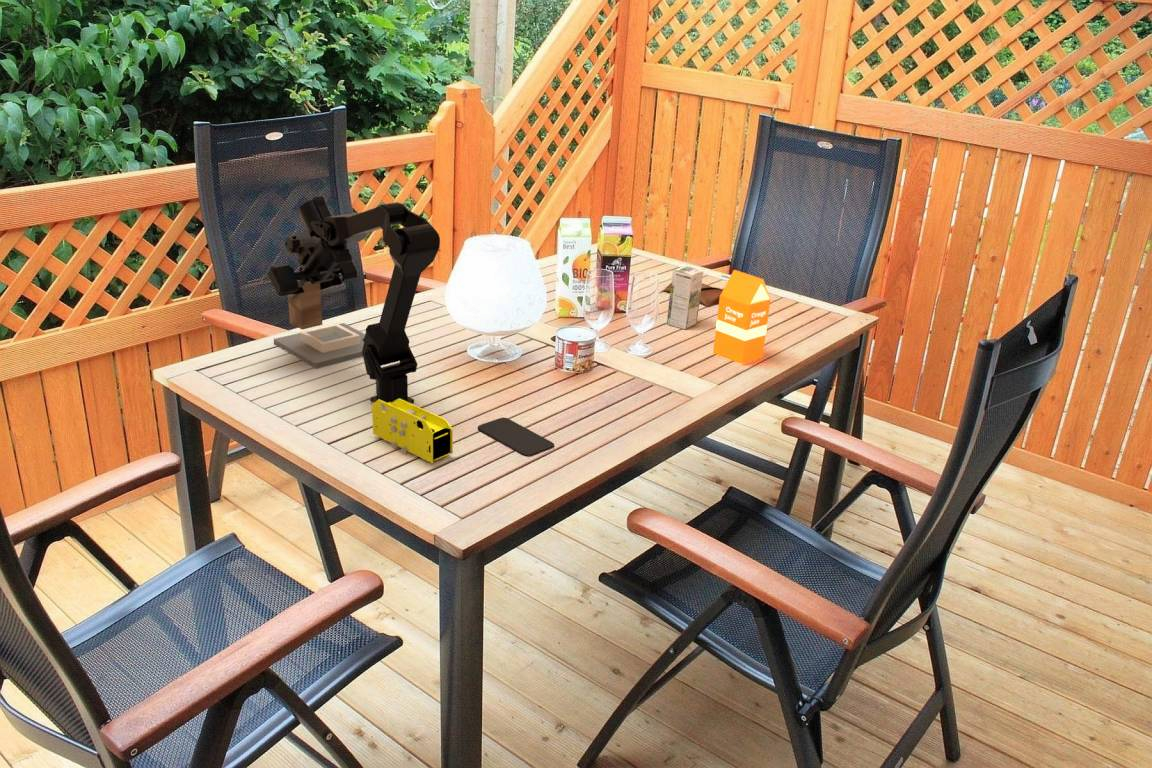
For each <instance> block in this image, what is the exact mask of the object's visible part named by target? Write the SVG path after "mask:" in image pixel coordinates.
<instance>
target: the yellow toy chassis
mask: <svg viewBox="0 0 1152 768" xmlns="http://www.w3.org/2000/svg"><path fill="white" fill-rule="evenodd" d="M371 412H372V413H371V414H372V417H371V418H372V434H373V435H375V436H377V437H379V438H381V439H382V440H384V441H385V442H387V443H391V447H392V448H393V449H396V448H398V447H399V448H400V450H401V451H400V452H401V453H403V454H406V453H407V452H409V453H410V454H413V455H414V456H417V457H419V458H420V459H421V460H423V461H427V462H429V463H431V464H433V463H434V462H438V461H439V460H442V459H444V458H446V457H447V456H449V455H454V452H453V451H454V449H453V448H454V446H453V445H454V441H453V440H454V439H453V435H454V429H453V427H452V426H451V425H450V424H449V422H448V420H447V419H446V418H444V417H442V416H439V415H437V414H435V413H433V412H430V411H428V410H426V409H423V408H422V407H419V406H417V405H415V404H414V403H412V404H411V403H409V402H406V401H404V400H402V399H400V398H399V399H397V400H395V401H394V402H392V403H391V402H389V403H386V402H384V401H382V400H380V399H379V400H377V401H376V402H372V404H371Z"/></svg>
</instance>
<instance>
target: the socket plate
mask: <svg viewBox="0 0 1152 768" xmlns="http://www.w3.org/2000/svg"><path fill="white" fill-rule="evenodd" d="M364 337H365V333H364V332H362V331H360V330H358V329H356V328H354V327H352V326H350V325H348V324H346V323H344V322H342V323H339V324H338V323H334V324H330V325H325V326H320V327H317V328H311V329H306V330H303V331H300V332H298V333H294V334H290V335H289V334H288V335H285V336H280V337H276V338H273V344H274V345H275V346H277V347H278V346H279V347H278V348H280V347H281V348H280V349H282V350H284V351H285V350H286V351H285V352H287V351H288V352H287V353H289V354H290V353H291V354H290V355H292V354H293V355H292V356H294V357H295V356H296V358H297V359H299V360H301V361H302V360H303V361H302V362H304V363H305V364H307V363H308V364H307V365H308V366H309V365H310V366H311V367H312V368H314V369H319V368H324V367H327V366H330V365H335V364H338V363H342V362H346V361H350V360H354V359H358V358H362V357H363V354H362V349H363V345H364V342H363V339H364Z"/></svg>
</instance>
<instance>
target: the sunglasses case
mask: <svg viewBox="0 0 1152 768" xmlns="http://www.w3.org/2000/svg"><path fill="white" fill-rule="evenodd" d="M670 290H671V283H669V284H668V285H667V286H666V287H664V289H663V290H660V291H661V292H662V293H663V292H664V293H665V294H669V295H670ZM723 290H724V289H722V288H719V287H714V286H711V285H708V284H705V283H703V282H702V286H701V294H700V302H699V305H701V306H704V307H709V308H711V307H714V306H717V305H718V306H719V300H720V295H721V293H722V291H723Z"/></svg>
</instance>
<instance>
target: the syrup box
mask: <svg viewBox="0 0 1152 768" xmlns="http://www.w3.org/2000/svg"><path fill="white" fill-rule="evenodd" d="M671 275H672V276H671V282H670V284H671V290H670V294H669V301H668V307H667V308H668V310H667V317H666V318H667V319H666V325H668V326H671V327H675V328H678V329H683V330H688V329H690V328H692V327H694V326H696V325H697V323H698V317H699V309H700V308H699V307H700V304H699V302H700V294H701V286H702V283H703V278H704V277H703V275H704V271H703V270H701V269H698V268H696V267H692V266H686V265H685V266H681V267H679V268H677V269H674V270H672V274H671Z"/></svg>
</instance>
